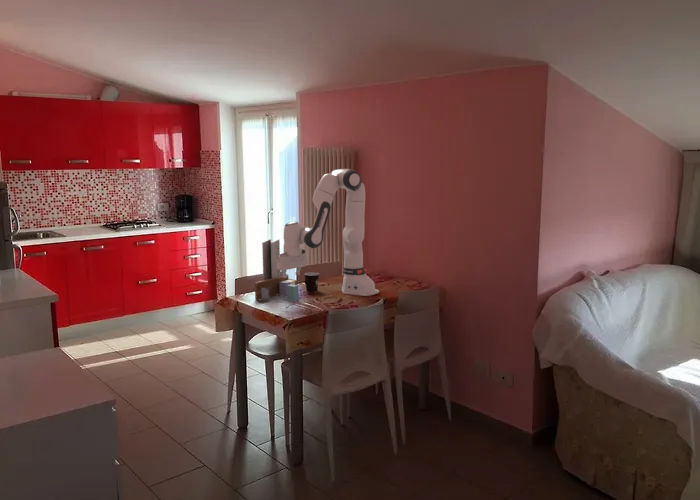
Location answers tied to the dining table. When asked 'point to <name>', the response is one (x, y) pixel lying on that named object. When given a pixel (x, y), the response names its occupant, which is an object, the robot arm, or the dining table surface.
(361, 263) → the robot arm
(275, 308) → the dining table surface
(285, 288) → the slate book
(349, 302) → the dining table surface
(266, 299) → the bookend
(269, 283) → the walnut rack
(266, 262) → the brochure
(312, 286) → the coffee mug
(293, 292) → the teal rectangular block
